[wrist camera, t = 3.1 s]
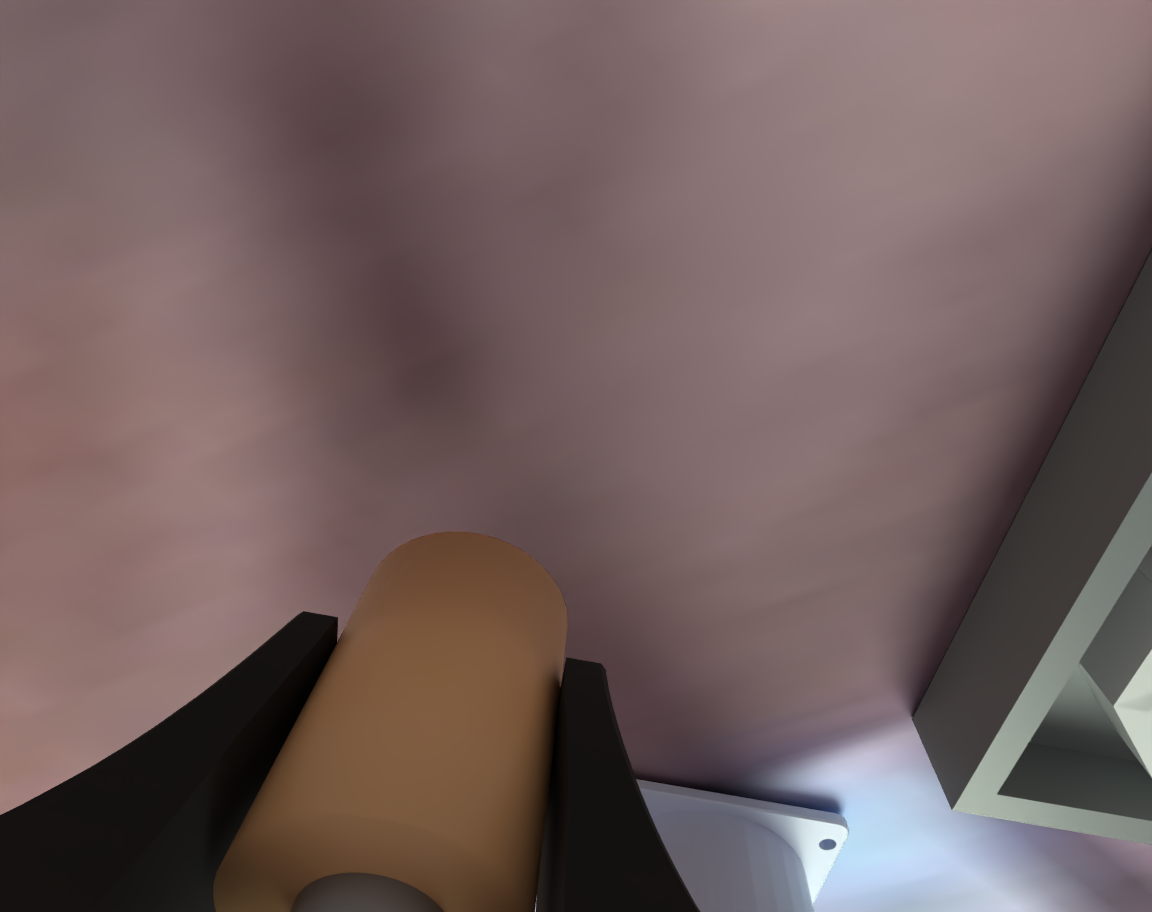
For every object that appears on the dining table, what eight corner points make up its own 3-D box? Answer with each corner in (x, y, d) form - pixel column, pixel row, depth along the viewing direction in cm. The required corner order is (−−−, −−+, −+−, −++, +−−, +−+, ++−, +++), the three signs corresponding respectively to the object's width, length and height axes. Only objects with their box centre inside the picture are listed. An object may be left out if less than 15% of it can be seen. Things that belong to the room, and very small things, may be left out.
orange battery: (552, 709, 16) (500, 1107, 10) (362, 676, 16) (190, 1056, 10) (584, 552, 14) (547, 918, 8) (370, 514, 14) (164, 853, 8)
